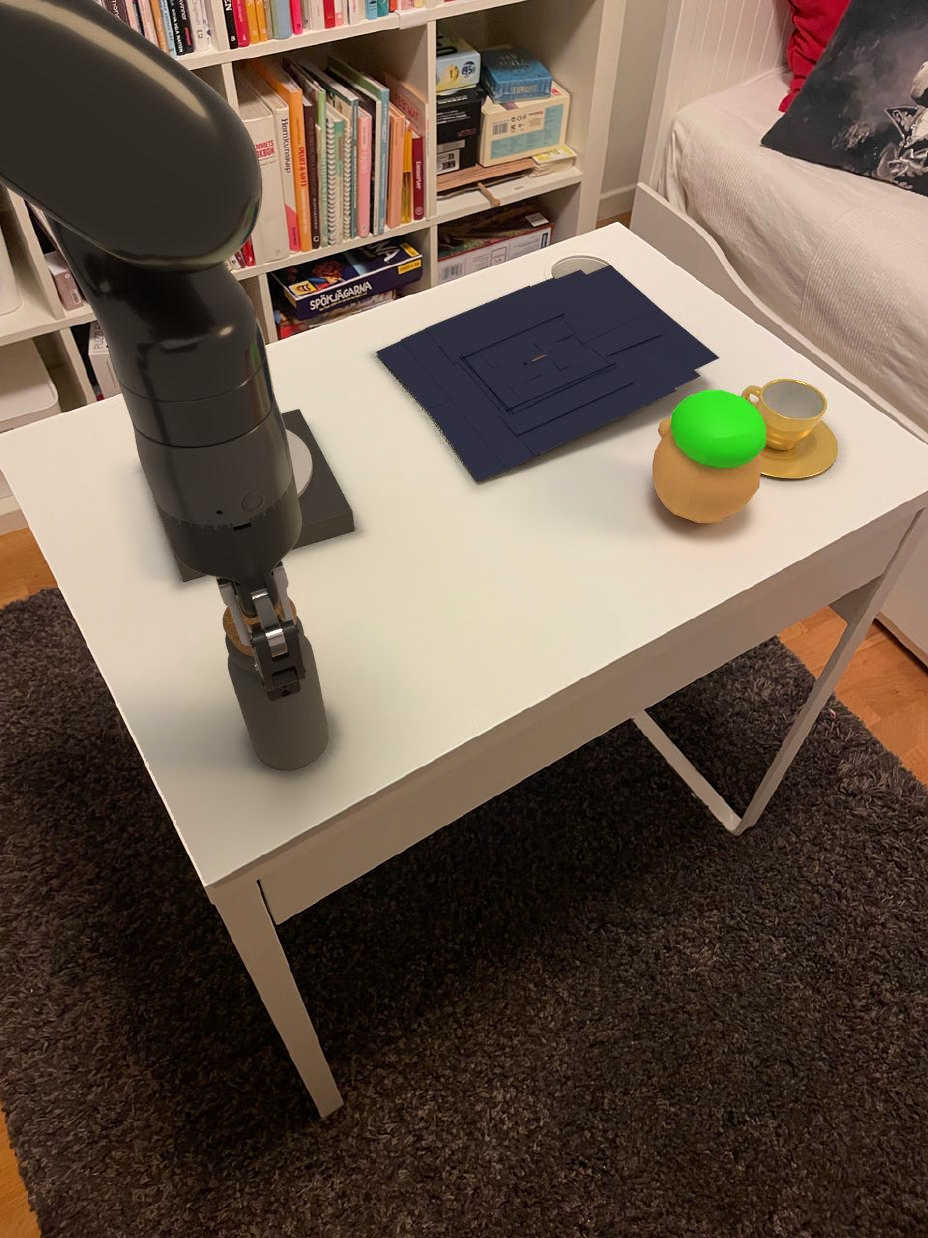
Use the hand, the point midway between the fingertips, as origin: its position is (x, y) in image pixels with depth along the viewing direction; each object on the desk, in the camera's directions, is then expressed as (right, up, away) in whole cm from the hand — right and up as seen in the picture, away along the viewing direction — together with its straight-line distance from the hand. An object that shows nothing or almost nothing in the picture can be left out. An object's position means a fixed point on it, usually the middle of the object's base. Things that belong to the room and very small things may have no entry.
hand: (270, 656), depth 61 cm
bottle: (0, -7, +8) cm, 11 cm away
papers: (+22, +29, +37) cm, 52 cm away
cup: (+45, +21, +31) cm, 59 cm away
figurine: (+35, +14, +26) cm, 45 cm away
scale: (-7, +14, +25) cm, 29 cm away
